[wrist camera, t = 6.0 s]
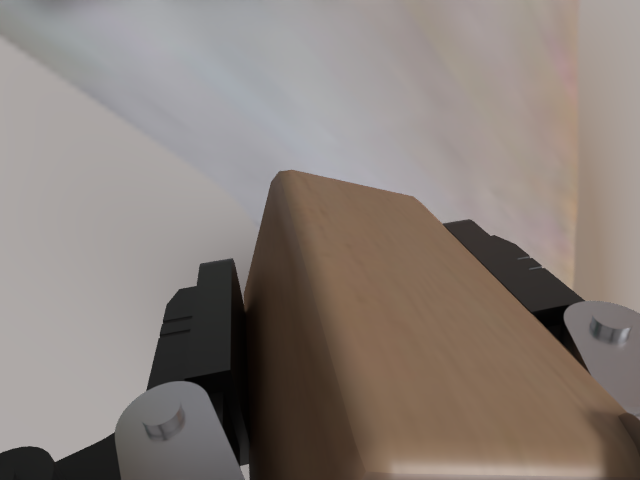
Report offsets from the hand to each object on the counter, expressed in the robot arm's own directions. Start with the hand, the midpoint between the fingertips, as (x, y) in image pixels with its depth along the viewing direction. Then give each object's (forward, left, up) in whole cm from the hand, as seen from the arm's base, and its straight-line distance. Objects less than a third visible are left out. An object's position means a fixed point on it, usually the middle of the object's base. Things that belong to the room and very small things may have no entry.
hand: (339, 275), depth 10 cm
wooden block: (0, 0, -2) cm, 2 cm away
